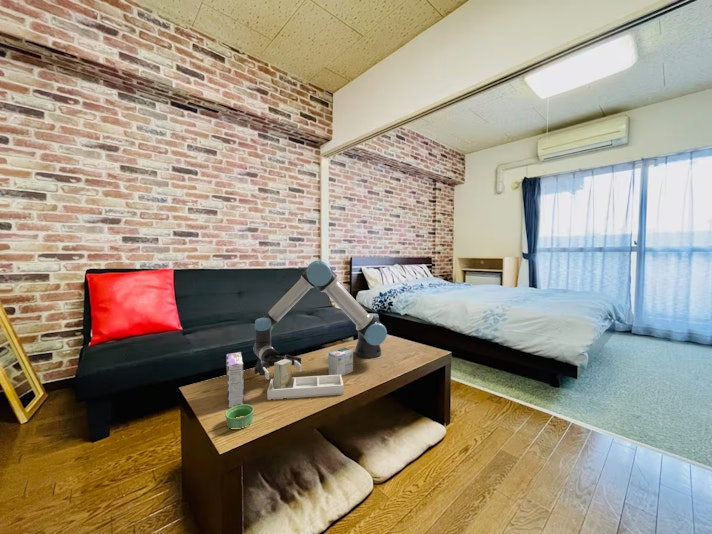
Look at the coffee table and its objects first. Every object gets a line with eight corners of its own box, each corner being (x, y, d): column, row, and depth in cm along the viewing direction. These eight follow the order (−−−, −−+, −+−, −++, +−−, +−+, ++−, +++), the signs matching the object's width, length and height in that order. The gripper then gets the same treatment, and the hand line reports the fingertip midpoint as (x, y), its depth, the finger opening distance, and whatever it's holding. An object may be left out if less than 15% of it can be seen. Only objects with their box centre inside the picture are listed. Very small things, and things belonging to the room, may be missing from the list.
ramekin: (231, 416, 103) (230, 404, 103) (257, 415, 104) (256, 403, 103) (221, 432, 94) (220, 419, 94) (249, 431, 95) (249, 418, 94)
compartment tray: (341, 382, 129) (341, 374, 129) (343, 394, 119) (343, 385, 119) (271, 387, 125) (271, 378, 125) (267, 399, 114) (267, 390, 114)
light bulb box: (344, 367, 146) (344, 346, 146) (353, 371, 141) (353, 350, 141) (327, 374, 139) (327, 351, 138) (337, 378, 134) (336, 355, 133)
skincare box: (281, 395, 117) (280, 365, 116) (273, 392, 119) (273, 363, 118) (292, 388, 122) (292, 360, 121) (285, 386, 124) (284, 358, 124)
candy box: (227, 392, 121) (226, 353, 120) (242, 389, 123) (241, 351, 122) (227, 408, 108) (226, 365, 107) (244, 405, 111) (243, 362, 110)
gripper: (294, 358, 142) (313, 373, 124) (241, 370, 128) (253, 389, 111) (294, 343, 142) (313, 356, 124) (240, 353, 128) (253, 369, 110)
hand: (285, 372), depth 117 cm, fingers open, 13 cm apart
